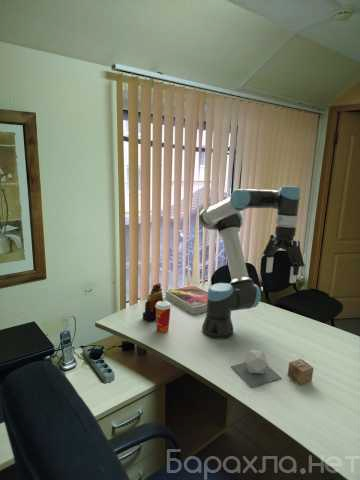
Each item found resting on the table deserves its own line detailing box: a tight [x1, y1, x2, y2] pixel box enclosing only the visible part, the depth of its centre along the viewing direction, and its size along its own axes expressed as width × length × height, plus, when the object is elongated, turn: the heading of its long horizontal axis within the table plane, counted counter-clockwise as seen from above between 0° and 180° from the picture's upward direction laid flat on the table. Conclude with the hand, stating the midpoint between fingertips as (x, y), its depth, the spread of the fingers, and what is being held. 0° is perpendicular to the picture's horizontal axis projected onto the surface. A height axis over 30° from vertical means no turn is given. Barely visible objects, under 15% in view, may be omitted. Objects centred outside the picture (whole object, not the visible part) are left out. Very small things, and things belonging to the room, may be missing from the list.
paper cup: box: [155, 300, 172, 334], centre depth 143 cm, size 8×8×14 cm
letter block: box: [287, 358, 314, 387], centre depth 112 cm, size 6×6×6 cm
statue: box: [142, 282, 164, 323], centre depth 154 cm, size 12×8×20 cm, turn 129°
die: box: [244, 350, 270, 374], centre depth 114 cm, size 8×9×10 cm
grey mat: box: [230, 361, 282, 389], centre depth 115 cm, size 13×14×1 cm
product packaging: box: [165, 284, 208, 316], centre depth 179 cm, size 22×28×5 cm
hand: (280, 277), depth 121 cm, fingers open, 13 cm apart
